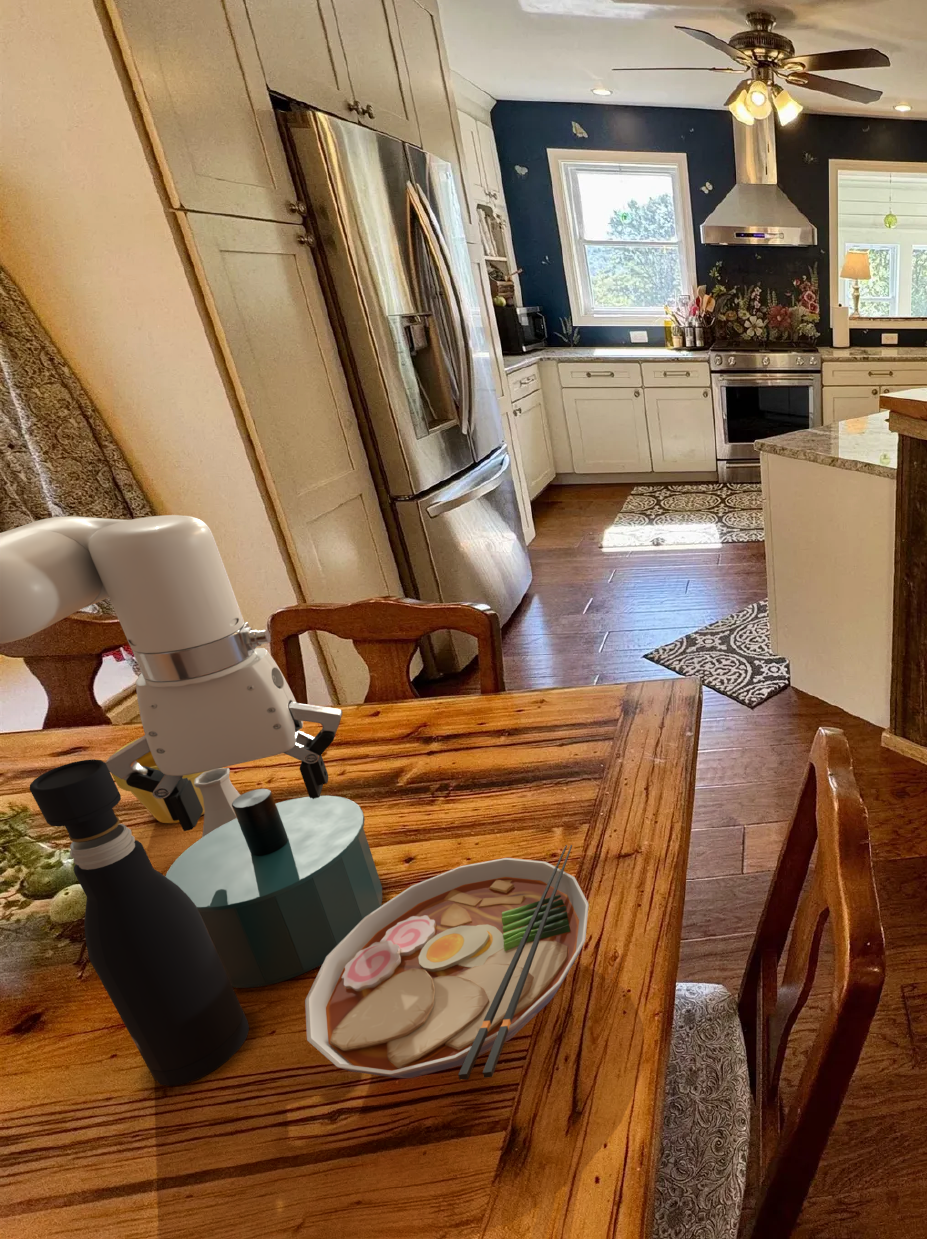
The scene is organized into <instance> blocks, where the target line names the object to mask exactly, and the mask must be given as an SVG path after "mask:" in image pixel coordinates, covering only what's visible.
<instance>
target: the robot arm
mask: <svg viewBox="0 0 927 1239" xmlns="http://www.w3.org/2000/svg"><path fill="white" fill-rule="evenodd" d="M107 599H109V601H110V603H111V605H112V608H113V611H114V612H115V615H116V617H117V620H118V622H119V624H120V626H121V629H122V631H123V633H124V635H125V638H126V640H127V642H128V645H129V647H130V649H131V653H132V654H133V656H134V658H135V661H136V663H137V665H138V667H139V670H140V673H139V675H138V677H137V679H136V680H135V690H136V699H137V704H138V710H139V716H140V720H141V725H142V730H143V732H144V735H143V736H141V738H140V737H139V739H138V738H137V739H138V740H136V739H135V740H136V741H134V740H133V741H134V742H133V743H131V744H129V745H128V746H126V747H125V748H123V749H121V750H120V751H118V750H117V751H118V752H116V751H115V752H116V753H115V752H114V753H115V754H114V753H113V754H111V755H110V756H109V757H108V759H107V760H106V761H104V762H105V763H106V765H107V767H108V769H109V771H110V774H111V773H112V774H114V775H115V776H117V777H119V778H120V779H124V780H126V783H127V784H128V785H129V786H131V787H135V788H138V789H141V790H145V791H148V792H152V793H153V796H154V797H155V798H159V799H163V800H164V802H165V804H166V806H167V808H168V811H169V813H170V815H171V817H172V819H173V820H174V821H176V820H179V822H178V823H179V824H180V826H181V828H182V831H183V832H188V831H191V830H193V829H194V828H196V826H197V824H198V822H199V820H200V818H201V817H202V815H201V814H202V812H203V808H202V805H201V803H200V801H199V799H198V796H197V794H196V792H195V789H194V787H193V785H192V782H191V781H190V780H188V778H182V777H183V775H190V774H195V773H200V772H204V771H209V770H213V769H218V768H222V767H223V768H228V767H231V766H235V765H240V764H244V763H248V762H252V761H257V760H262V759H266V758H270V757H274V756H278V755H281V754H285V755H287V756H289V757H291V758H294V759H296V760H297V761H301V762H300V765H299V772H300V775H301V777H302V780H303V782H304V783H303V784H304V786H305V788H306V792H307V794H308V797H310V798H313V799H315V798H319V797H320V796H321V793H322V791H323V788H324V787H323V786H324V785H327V784H328V783H329V773H328V769H327V767H326V764H325V761H324V758H323V754H324V752H325V751H326V750H327V749H328V748H329V746H330V745H331V744H332V743H333V741H334V740H335V737H336V735H337V731H338V729H339V725H340V723H341V720H342V717H343V714H344V713H343V710H342V709H340V708H337V707H331V706H323V705H316V704H315V705H314V704H308V703H307V704H306V703H302V702H301V703H300V702H297V700H296V698H295V696H294V694H293V692H292V690H291V688H290V685H289V684H288V682H287V679H286V678H285V676H284V674H283V672H282V671H281V669H280V667H279V666H278V664H277V662H276V661H275V659H274V657H273V656H272V655H271V654H270V653H269V651H268V650H267V649H266V648H264V647H261V646H262V645H266V644H270V643H271V642H272V640H271V638H272V637H271V633H270V631H269V630H268V629H267V628H266V629H260V630H258V629H252V627H251V626H250V625H249V622H248V621H245V620H244V616H243V613H242V611H241V608H240V606H239V602H238V600H237V597H236V594H235V592H234V589H233V585H232V583H231V580H230V577H229V575H228V571H227V569H226V567H225V564H224V561H223V558H222V554H221V553H220V550H219V547H218V544H217V542H216V539H215V536H214V534H213V532H212V530H211V528H210V527H209V525H207V523H206V522H205V521H203V520H201V518H200V519H199V518H197V517H194V516H190V515H181V514H166V515H165V514H164V515H153V516H146V517H138V518H133V519H122V518H121V519H120V518H119V519H118V518H104V517H91V516H75V515H73V516H72V515H71V516H70V515H69V516H66V515H65V516H55V517H53V516H52V517H47V518H42V519H39V520H34V521H32V522H29V523H26V524H24V525H20V526H18V527H15V528H11V529H8V530H6V531H3V532H0V644H7V643H12V642H16V641H19V640H23V639H26V638H28V637H31V636H33V635H35V634H38V633H39V632H41V631H43V630H45V629H47V628H49V627H51V626H52V625H54V624H57V623H58V622H60V621H62V620H64V619H66V618H67V617H69V616H71V615H73V614H75V613H76V612H78V611H80V610H82V609H85V608H87V607H90V606H92V605H95V604H97V603H100V602H102V601H104V600H107ZM304 722H307V723H315V724H316V723H317V724H320V725H321V726H322V728H321V729H320V731H318V733H317V734H316V735H315V736H312V735H311V734H308V733H306V732H305V731H302V730H301V729H303V727H304ZM150 751H151V753H152V756H153V758H154V761H155V763H156V765H157V766H158V768H159V769H160V770H156V769H153V768H150V767H147V766H141V765H140V763H138V762H137V761H136V760H137V759H139V758H140V757H142V756H144V755H145V754H147V753H148V752H150ZM112 774H111V775H112Z"/></svg>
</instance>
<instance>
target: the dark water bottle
mask: <svg viewBox="0 0 927 1239" xmlns="http://www.w3.org/2000/svg"><path fill="white" fill-rule="evenodd" d="M105 762H106V761H103V759H102V760H101V759H94V758H93V759H92V758H91V759H84V760H83V759H82V760H76V761H73V762H69V763H66V764H62V765H60V766H57V767H54V768H52V769H50V770H48V771H46V772H44V773H42V774H40V775H38V777H36V778H34V779H33V780H32V782H31V783H30V784H29V791H30V793H31V795H32V797H33V799H34V800H35V803H36V804H37V807H38V808H39V810H40V812H41V814H42V816H43V818H44V820H45V822H46V824H47V825H49V826H51V827H57V828H58V827H65V830H66V831H67V833H68V838H69V841H71V844H70V845H69V849H70V850H69V856H70V857H71V858H72V859H73V864H74V866H73V873H74V876H75V877H76V879H77V881H78V883H79V885H80V886H81V888H82V891H83V892H84V894H85V896H86V902H85V912H84V913H85V914H84V936H85V946H86V951H87V955H88V960H89V962H90V963H91V965H92V967H93V969H94V970H95V972H96V975H97V976H98V978H99V980H100V982H101V984H102V985H103V987H104V989H105V991H106V993H107V995H108V996H109V999H110V1001H111V1002H112V1004H113V1006H114V1008H115V1009H116V1011H117V1013H118V1015H119V1017H120V1019H121V1021H122V1023H123V1024H124V1026H125V1028H126V1030H127V1031H128V1033H129V1035H130V1037H131V1039H132V1041H133V1043H134V1045H135V1046H136V1049H137V1050H138V1052H139V1054H140V1055H141V1057H142V1059H143V1061H144V1063H145V1065H146V1066H147V1069H148V1071H149V1072H150V1074H151V1076H152V1078H153V1079H154V1081H155V1082H157V1083H158V1084H159V1085H161V1086H168V1087H174V1086H180V1085H185V1084H189V1083H191V1082H193V1081H196V1080H199V1079H201V1078H203V1077H205V1076H206V1075H209V1074H210V1073H212V1072H214V1071H215V1070H217V1069H218V1068H220V1067H221V1066H223V1065H224V1064H225V1063H226V1062H228V1061H229V1060H230V1059H231V1058H232V1057H233V1056H234V1055H235V1054H236V1053H237V1052H238V1051H239V1050H240V1049H241V1048H242V1046H243V1044H244V1042H245V1041H246V1040H247V1038H248V1035H249V1032H250V1025H249V1020H248V1019H247V1017H246V1014H245V1012H244V1010H243V1008H242V1004H241V1003H240V1001H239V998H238V996H237V994H236V992H235V989H234V987H232V985H231V983H230V980H229V978H228V976H227V974H226V971H225V969H224V967H223V965H222V962H221V960H220V958H219V956H218V953H217V951H216V949H215V947H214V945H213V942H212V940H211V938H210V936H209V933H208V931H207V929H206V927H205V924H204V922H203V920H202V918H201V915H200V913H199V911H198V909H197V906H196V905H195V904H194V903H193V901H192V900H191V899H190V898H189V897H188V895H187V894H186V893H185V892H184V891H183V890H182V889H181V888H180V887H179V886H178V885H176V884H175V883H174V882H172V881H171V880H169V879H168V878H167V877H165V876H166V875H164V874H162V872H160V871H159V870H157V869H155V868H154V867H153V865H152V864H153V863H152V862H151V860H150V858H149V856H148V854H147V852H146V850H145V848H144V845H143V843H142V842H141V841H139V840H137V839H136V837H135V836H134V835H132V828H129V827H127V825H125V824H124V823H121V822H120V819H119V817H118V816H116V813H115V812H114V807H116V806H117V805H118V804H119V803H120V801H121V800H122V796H121V793H120V791H119V789H118V786H117V783H116V782H115V780H114V778H113V776H112V774H111V773H110V771H109V769H108V767H107V765H106V763H105Z"/></svg>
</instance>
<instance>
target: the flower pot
mask: <svg viewBox="0 0 927 1239" xmlns="http://www.w3.org/2000/svg"><path fill="white" fill-rule="evenodd" d="M141 737H142V736H141ZM141 737H139V738H141ZM139 738H136V739H134V740H132V741H130V742H128V743H127V744H125V745H123V746H121V747H120V748H119V749H117V750H116V751H115V752H114V753H113V754H115V753H116V752H118V751H120V750H121V749H123V748H125V747H126V746H128V745H129V744H131V743H133V742H134V741H136V740H138V739H139ZM136 761H137V762H138V763H140V765H141V766H147V767H150V768H153V769H156V770H160V769H159V768H158V766H157V765H156V763H155V761H154V758H153V756H152V753H151V751H150V752H148V753H147V754H145V755H144V756H142V757H140V758H139V759H137V760H136ZM222 768H224V767H222ZM213 770H214V769H213ZM209 771H210V770H209ZM204 772H207V771H204ZM204 772H200V773H195V774H190V775H183V777H182V778H188V780H190V781H191V782H192V785H193V787H194V789H195V792H196V794H197V796H198V799H199V801H200V803H201V805H202V808H203V812H202V814H201V816H202V815H203V816H204V813H205V809H204V801H203V796H202V793H201V790H200V789H199V788H197V787H195V785H194V782H195V778H197V777H198V776H200V775H201V774H202V773H204ZM110 774H111V776H112V778H113V780H114V782H115V784H116V786H117V787H118V788H120V790H123V791H125V792H130V793H131V794H132V795H133V796H134V797H135V798H136V799H137V801H139V802H140V804H142V806H144V808H145V809H146V810H147V811H148V812H149V813H150V814H151V815H152V816H153V817H154V818H155V820H156V821H158V822H160V823H161V824H178V823H180V822H179V820H176V821H174V820H173V819H172V817H171V815H170V813H169V811H168V808H167V806H166V804H165V802H164V800H163V799H159V798H155V797H154V796H153V793H152V792H148V791H145V790H141V789H138V788H135V787H131V786H129V785H128V784H127V783H126V780H124V779H120V778H119V777H117V776H115V775H114V774H112V773H110Z"/></svg>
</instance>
